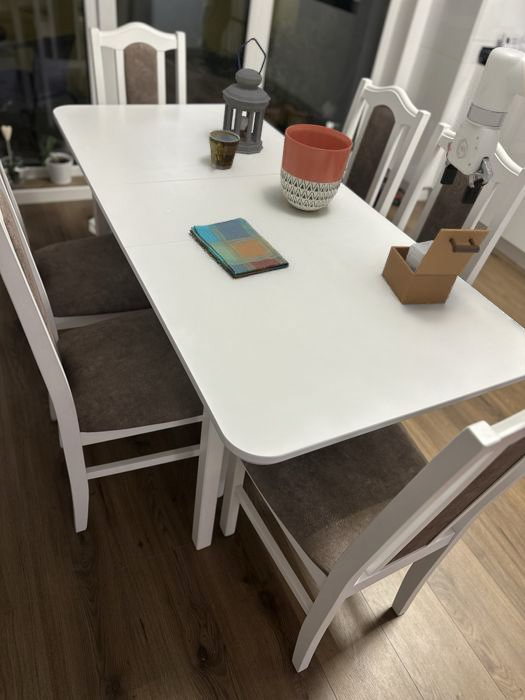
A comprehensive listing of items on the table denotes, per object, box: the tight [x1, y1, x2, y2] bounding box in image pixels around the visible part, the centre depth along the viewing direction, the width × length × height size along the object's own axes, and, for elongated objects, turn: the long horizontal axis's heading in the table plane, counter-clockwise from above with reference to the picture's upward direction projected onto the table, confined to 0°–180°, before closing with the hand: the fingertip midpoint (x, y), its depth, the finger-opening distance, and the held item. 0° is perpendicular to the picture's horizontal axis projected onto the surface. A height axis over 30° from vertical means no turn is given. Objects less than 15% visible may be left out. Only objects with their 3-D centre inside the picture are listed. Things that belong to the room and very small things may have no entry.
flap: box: [414, 228, 490, 276], centre depth 123 cm, size 14×12×4 cm
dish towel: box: [189, 217, 290, 278], centre depth 141 cm, size 17×23×2 cm
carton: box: [381, 245, 459, 305], centre depth 137 cm, size 13×12×9 cm
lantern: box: [221, 37, 272, 155], centre depth 186 cm, size 17×17×35 cm
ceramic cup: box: [208, 129, 240, 171], centre depth 177 cm, size 13×10×10 cm
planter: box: [279, 123, 354, 212], centre depth 160 cm, size 20×20×21 cm
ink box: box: [405, 239, 434, 272], centre depth 136 cm, size 9×5×12 cm, turn 123°
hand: (456, 193), depth 123 cm, fingers open, 9 cm apart
